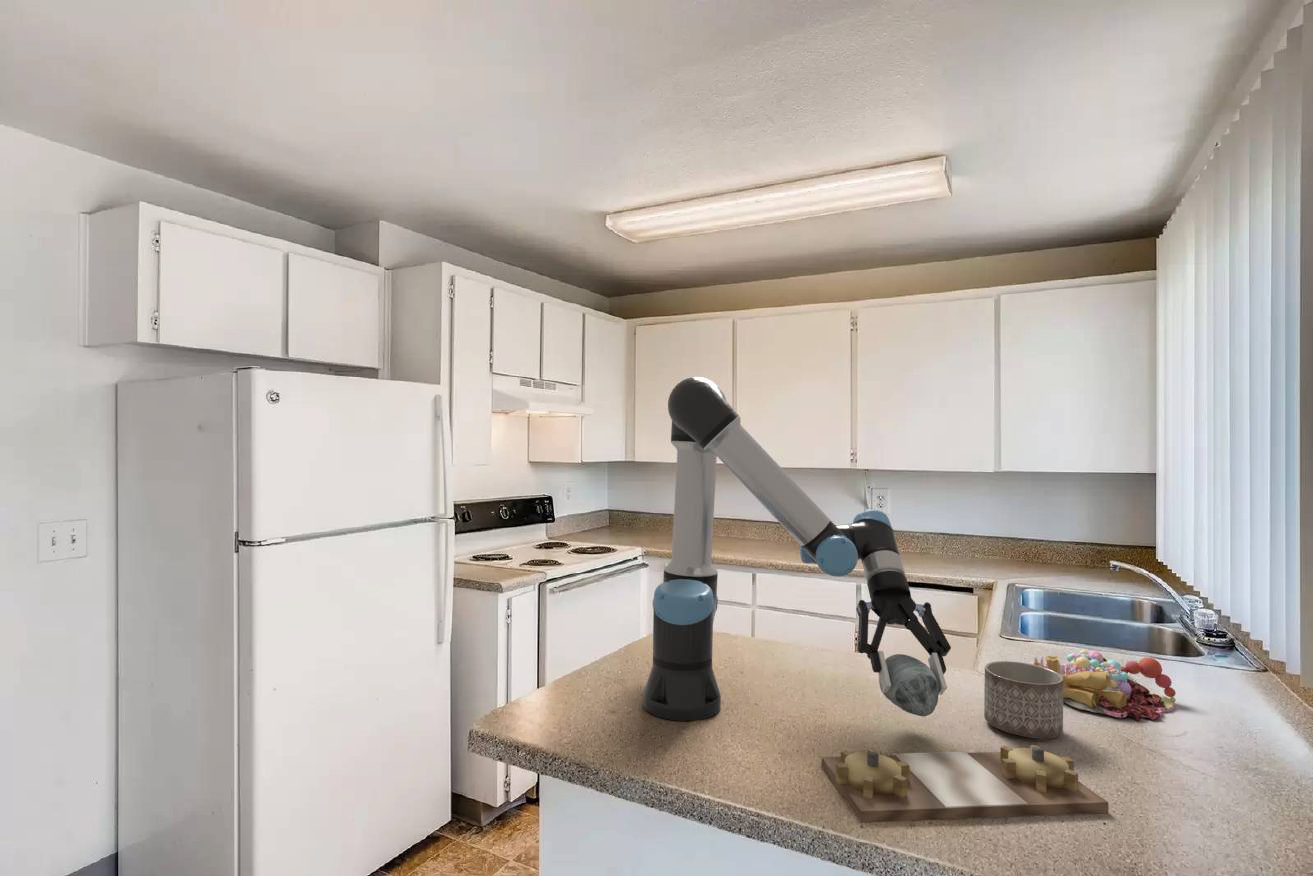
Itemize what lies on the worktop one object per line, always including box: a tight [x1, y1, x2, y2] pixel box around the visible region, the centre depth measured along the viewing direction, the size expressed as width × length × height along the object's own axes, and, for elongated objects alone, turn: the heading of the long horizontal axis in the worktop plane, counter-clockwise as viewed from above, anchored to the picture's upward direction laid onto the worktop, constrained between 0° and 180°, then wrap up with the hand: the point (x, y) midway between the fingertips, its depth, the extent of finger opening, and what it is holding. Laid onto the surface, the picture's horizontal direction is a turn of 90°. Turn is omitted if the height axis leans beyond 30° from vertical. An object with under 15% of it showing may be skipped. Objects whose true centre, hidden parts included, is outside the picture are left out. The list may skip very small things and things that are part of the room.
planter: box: [983, 660, 1064, 739], centre depth 124 cm, size 13×13×10 cm
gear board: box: [820, 744, 1109, 823], centre depth 101 cm, size 37×16×6 cm, turn 95°
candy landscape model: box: [1033, 649, 1176, 722], centre depth 140 cm, size 25×24×9 cm
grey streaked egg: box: [878, 653, 939, 717], centre depth 120 cm, size 14×10×10 cm
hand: (914, 690), depth 117 cm, fingers closed on grey streaked egg, 9 cm apart
